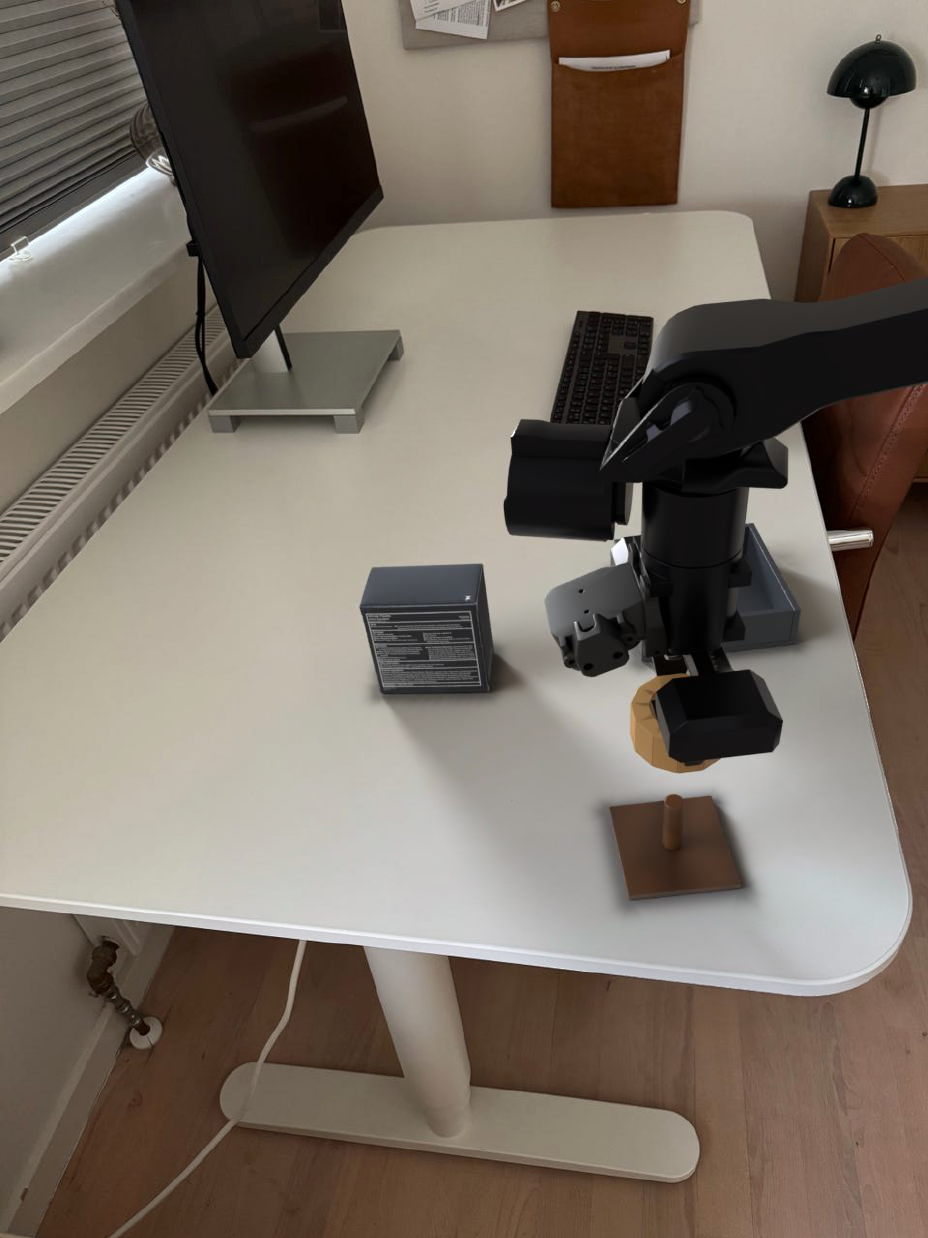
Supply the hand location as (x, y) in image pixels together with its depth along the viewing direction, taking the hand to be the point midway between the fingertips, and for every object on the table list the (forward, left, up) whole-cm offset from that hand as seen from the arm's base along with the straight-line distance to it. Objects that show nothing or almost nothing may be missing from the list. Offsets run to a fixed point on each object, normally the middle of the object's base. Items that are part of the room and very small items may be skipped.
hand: (679, 726), depth 61 cm
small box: (+17, -21, -12) cm, 29 cm away
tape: (0, 0, -1) cm, 1 cm away
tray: (-9, -26, -11) cm, 29 cm away
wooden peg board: (0, +2, -11) cm, 11 cm away
